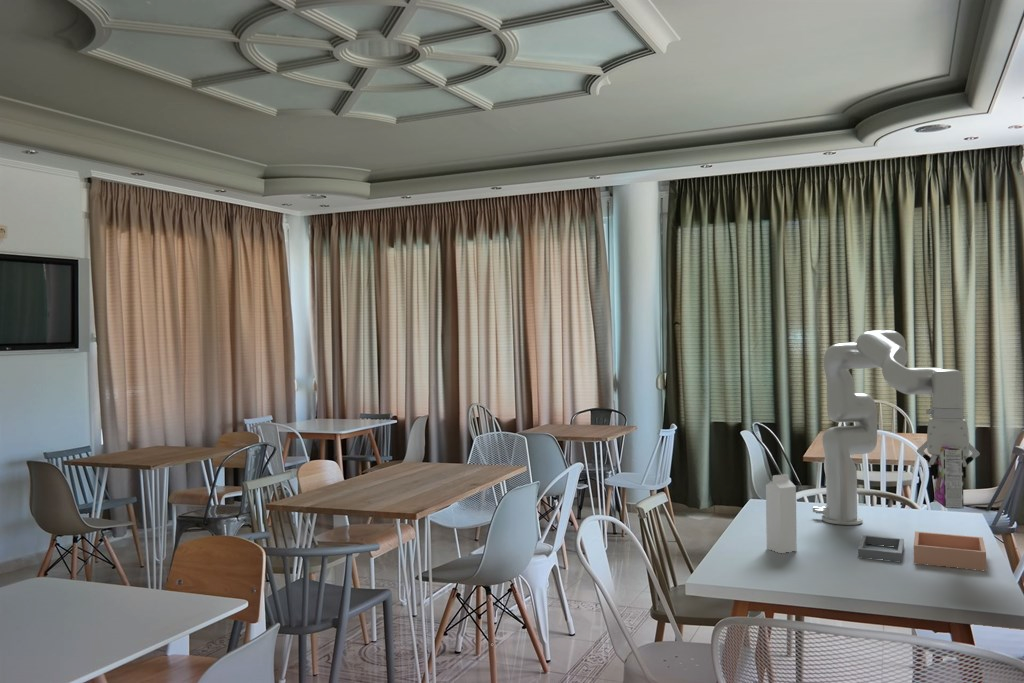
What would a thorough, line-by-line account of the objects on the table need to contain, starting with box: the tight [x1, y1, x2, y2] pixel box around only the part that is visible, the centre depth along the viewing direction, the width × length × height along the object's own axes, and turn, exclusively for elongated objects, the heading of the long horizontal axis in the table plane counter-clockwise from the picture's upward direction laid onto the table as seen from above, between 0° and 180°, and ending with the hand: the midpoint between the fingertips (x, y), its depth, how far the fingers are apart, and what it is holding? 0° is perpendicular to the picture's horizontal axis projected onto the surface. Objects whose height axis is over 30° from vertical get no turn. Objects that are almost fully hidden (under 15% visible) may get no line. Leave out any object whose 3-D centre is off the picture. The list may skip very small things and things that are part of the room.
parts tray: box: [857, 534, 905, 563], centre depth 231 cm, size 11×17×2 cm, turn 152°
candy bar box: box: [933, 447, 965, 510], centre depth 222 cm, size 11×5×16 cm, turn 166°
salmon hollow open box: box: [913, 531, 987, 572], centre depth 223 cm, size 17×17×5 cm
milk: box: [765, 473, 798, 554], centre depth 235 cm, size 6×6×22 cm
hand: (948, 478), depth 223 cm, fingers closed on candy bar box, 5 cm apart
